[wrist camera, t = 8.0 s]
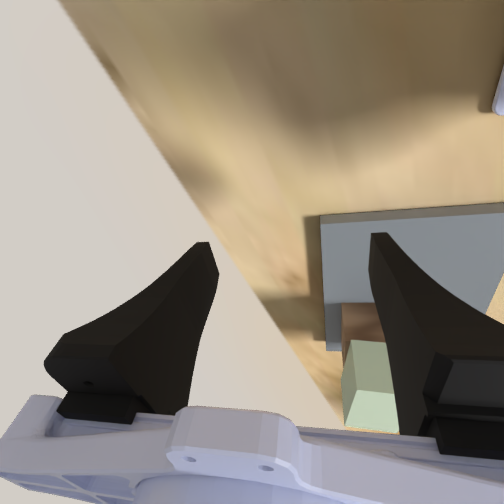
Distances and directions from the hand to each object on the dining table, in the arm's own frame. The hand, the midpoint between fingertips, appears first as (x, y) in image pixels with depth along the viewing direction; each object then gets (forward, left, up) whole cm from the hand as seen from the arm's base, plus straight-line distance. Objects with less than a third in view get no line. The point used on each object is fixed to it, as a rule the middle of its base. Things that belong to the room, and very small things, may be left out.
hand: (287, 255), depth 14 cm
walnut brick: (-5, +16, -8) cm, 18 cm away
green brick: (-5, +16, -4) cm, 17 cm away
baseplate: (-8, +12, -9) cm, 17 cm away
